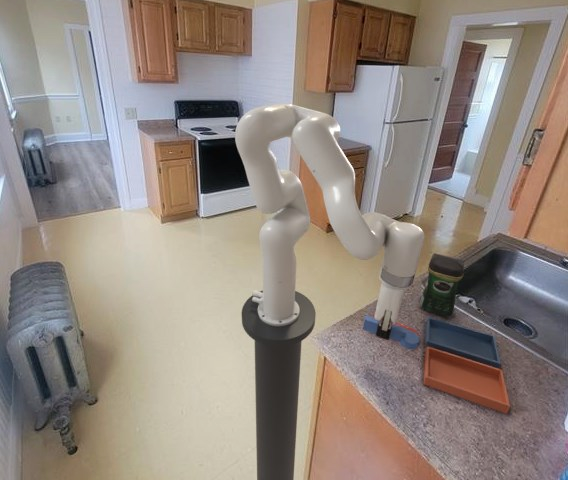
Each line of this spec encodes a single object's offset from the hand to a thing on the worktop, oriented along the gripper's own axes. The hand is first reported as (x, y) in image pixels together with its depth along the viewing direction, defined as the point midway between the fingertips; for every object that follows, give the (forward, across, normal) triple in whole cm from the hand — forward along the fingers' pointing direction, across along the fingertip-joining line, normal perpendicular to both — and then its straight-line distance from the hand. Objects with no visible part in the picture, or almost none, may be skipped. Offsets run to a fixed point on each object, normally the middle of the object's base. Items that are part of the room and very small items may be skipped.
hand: (383, 333), depth 82 cm
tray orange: (+7, -1, +20) cm, 21 cm away
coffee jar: (+7, -26, +14) cm, 31 cm away
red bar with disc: (+8, -9, +3) cm, 12 cm away
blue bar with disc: (0, 0, +2) cm, 2 cm away
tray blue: (+7, -13, +20) cm, 25 cm away
